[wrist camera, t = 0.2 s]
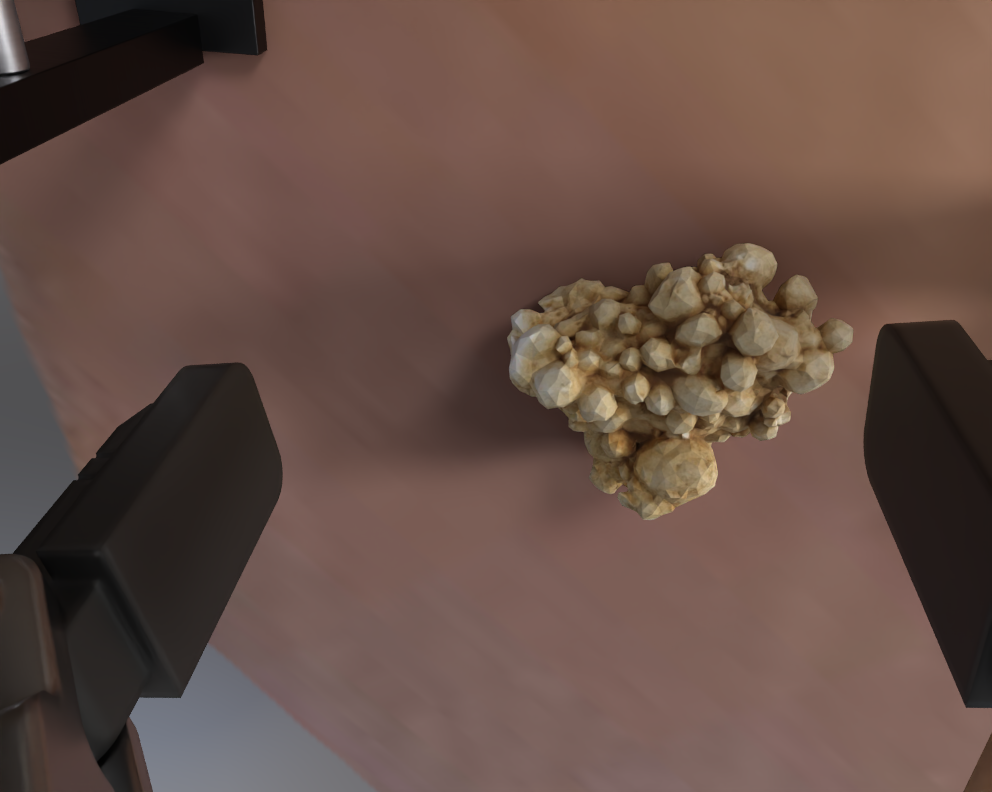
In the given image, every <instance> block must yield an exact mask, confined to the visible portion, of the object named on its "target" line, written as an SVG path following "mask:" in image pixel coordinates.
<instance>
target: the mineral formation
mask: <svg viewBox="0 0 992 792" xmlns="http://www.w3.org/2000/svg"><path fill="white" fill-rule="evenodd" d="M776 269H777V262H776V260H775V258H774V256H773V253H772V252H770V251H768V250H766V249H765V248H763V247H761V246H757V245H754V244H750V243H743V244H735V245H734V246H732V247H730V248H729V249H727V250H726V251H725V252H724V254H723V256H722V258H716V257H715V256H714V255H713V254H704V255H703V256H702V257H701V258H700V259H699V260H698V263H697V267H683V268H680V269H677V270H674V271H673V269H672V267H671V265H670V263H661V264H656V265H653V266H652V267H651V268H650V269H649V270H648V272H647V275H646V280H645V284H644V285H636V286H634V287H632V289H631V290H630V292H627V291H624V290H622V289H619V288H616V287H613V286H609V287H605V286H604V285H603V284H602V283H601V282H600V281H588V280H584V279H583V278H581V279H580V280H578V281H577V282H575V283H573V284H570V285H567V286H559V287H558V288H557V289H556V290H555V291H554V292H553V293H552V294H550V295H547V296H545V297H544V298H542V299H541V300H540V301H539V302H538V303H539V305H540V306H541V307H542V309H543V310H544V311H545V312H544V313H538V312H536V311H533V310H531V309H520V310H519V311H518V312H516V313H515V314H514V315H512V316H511V321H512V329H513V330H512V331H511V333H510V335H509V336H508V338H507V340H508V344H509V347H510V352H511V362H510V365H509V374H510V380H512V383H513V384H514V385H515V386H516V387H517V388H518V389H519V390H520V391H521V392H524V393H526V394H528V395H530V397H537V399H538V401H539V403H540V404H542V405H543V406H544V407H546V408H547V409H552V408H557V407H559V409H560V410H561V411H562V412H564V413H565V414H566V416H567V417H568V418H569V424H568V426H569V427H570V428H571V429H572V430H574V431H577V432H584V441H585V445H586V448H587V450H588V452H589V453H590V454H591V455H592V456H593V457H594V459H593V467H592V470H591V473H590V476H589V479H590V480H591V482H592V483H593V484H594V485H595V486H596V487H597V488H598V489H599V490H601V491H603V492H605V493H609V494H614V493H615V491H616V490H617V489H618V488H619V487H620V486H621V485H622V484H623V485H624V486H626V487H627V488H628V491H627V492H619V494H618V497H617V498H618V499H619V501H620V503H621V504H622V506H624V507H627V508H629V509H632V510H634V511H636V512H637V513H638V514H639V515H640V517H641V518H642V519H643V520H654V519H656V518H658V517H659V516H661V515H664V514H667V513H670V512H672V511H673V510H674V508H675V507H678V506H680V505H682V504H685V503H686V502H688V501H691V500H693V499H695V498H697V497H700V496H702V495H704V494H706V493H707V492H708V491H709V490H711V489H712V488H713V487H714V486H715V482H716V479H717V475H718V471H717V465H716V461H715V457H714V454H713V450H712V448H711V443H712V442H725V441H726V440H727V439H728V438H729V437H730V436H731V435H732V436H733V437H741V438H743V437H745V436H747V435H748V434H749V433H751V434H752V436H753V437H754V438H756V439H758V440H760V441H762V440H769V439H771V438H774V437H776V434H777V431H778V426H779V425H782V424H784V423H786V422H788V421H790V416H791V412H790V410H789V408H788V407H787V399H788V397H789V396H790V394H791V393H792V392H794V393H798V394H804V393H807V392H809V391H812V390H814V389H817V388H818V387H820V386H822V385H823V384H825V383H826V382H827V381H828V380H830V377H831V375H832V372H833V370H834V362H833V353H837V352H840V351H843V350H844V349H846V348H847V347H848V346H849V345H850V344H851V343H852V338H853V328H852V327H850V326H849V325H848V324H846V323H845V322H844V321H842V320H838V319H834V318H831V319H830V320H828V321H827V322H825V323H824V324H822V325H821V326H819V327H818V328H816V327H814V325H813V324H812V322H811V317H812V311H813V309H814V308H816V304H817V300H818V298H817V296H816V294H815V292H814V290H813V288H812V286H811V284H810V283H809V281H808V279H807V278H806V277H804V276H800V275H795V276H793V277H791V278H790V279H789V280H787V281H786V282H785V283H783V284H782V285H781V286H780V288H779V290H778V292H777V294H776V296H775V298H774V300H773V301H767V299H766V297H765V295H764V294H763V292H762V289H763V288H764V287H765V286H767V285H768V284H769V283H770V282H771V281H772V279H773V277H774V275H775V273H776Z"/></svg>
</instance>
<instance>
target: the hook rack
mask: <svg viewBox="0 0 992 792" xmlns="http://www.w3.org/2000/svg"><path fill="white" fill-rule="evenodd" d="M75 2H76V7H77V12H78V16H79V21H80V25H79V26H76V27H73V28H69V29H66V30H63V31H60V32H56V33H53V34H50V35H47V36H44V37H40V38H37V39H34V40H31V41H27V42H24V39H23V35H22V31H21V27H20V23H19V19H18V15H17V11H16V7H15V3H14V0H0V164H2V163H4V162H6V161H8V160H10V159H12V158H14V157H16V156H18V155H20V154H22V153H24V152H26V151H28V150H30V149H32V148H34V147H36V146H38V145H40V144H42V143H44V142H46V141H48V140H50V139H52V138H54V137H56V136H59V135H61V134H63V133H65V132H67V131H69V130H71V129H73V128H75V127H77V126H79V125H81V124H83V123H85V122H87V121H89V120H91V119H93V118H95V117H97V116H99V115H101V114H103V113H105V112H107V111H109V110H111V109H113V108H115V107H117V106H119V105H121V104H123V103H125V102H127V101H129V100H131V99H133V98H135V97H137V96H139V95H141V94H143V93H145V92H147V91H149V90H151V89H153V88H155V87H157V86H159V85H161V84H163V83H165V82H167V81H169V80H171V79H173V78H175V77H177V76H179V75H181V74H183V73H185V72H187V71H189V70H191V69H193V68H195V67H197V66H199V65H201V64H203V63H204V59H203V52H202V51H210V52H222V53H235V54H247V55H259V54H261V53H263V52H265V51H266V50H267V42H266V32H265V21H264V11H263V1H262V0H75Z"/></svg>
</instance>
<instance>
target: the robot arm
mask: <svg viewBox="0 0 992 792" xmlns="http://www.w3.org/2000/svg"><path fill="white" fill-rule="evenodd" d="M864 457H865V465H866V470H867V474H868V478H869V481H870V483H871V486H872V488H873V491H874V493H875V495H876V498H877V500H878V502H879V505H880V507H881V509H882V512H883V514H884V516H885V519H886V521H887V523H888V526H889V528H890V530H891V533H892V535H893V537H894V540H895V542H896V544H897V547H898V549H899V552H900V554H901V556H902V559H903V561H904V563H905V566H906V568H907V570H908V573H909V575H910V577H911V580H912V582H913V584H914V587H915V589H916V591H917V594H918V596H919V598H920V601H921V603H922V605H923V608H924V610H925V612H926V615H927V617H928V620H929V622H930V624H931V627H932V629H933V631H934V634H935V636H936V638H937V641H938V643H939V645H940V648H941V650H942V652H943V655H944V657H945V659H946V662H947V664H948V666H949V669H950V671H951V673H952V676H953V678H954V681H955V683H956V685H957V688H958V690H959V692H960V695H961V697H962V699H963V702H964V704H965V706H966V708H992V360H987V359H986V358H985V357H984V355H983V354H982V353H981V351H980V350H979V349H978V347H977V346H976V345H975V343H974V342H973V341H972V339H971V338H970V337H969V335H968V334H967V333H966V331H965V330H964V329H963V328H962V326H961V325H960V324H959V323H958V322H957V321H955V320H943V321H927V322H910V323H894V324H885V325H884V326H883V327H882V328H881V330H880V332H879V335H878V339H877V344H876V350H875V357H874V364H873V371H872V378H871V386H870V393H869V400H868V407H867V414H866V421H865V428H864ZM282 475H283V473H282V462H281V456H280V453H279V450H278V447H277V444H276V441H275V438H274V435H273V433H272V430H271V427H270V424H269V421H268V418H267V415H266V412H265V409H264V407H263V404H262V401H261V398H260V395H259V392H258V389H257V386H256V384H255V381H254V378H253V376H252V374H251V372H250V370H249V369H248V368H247V367H246V366H245V365H244V364H242V363H238V362H237V363H221V364H205V365H189V366H185V367H183V368H182V369H181V370H180V371H179V372H178V373H177V374H176V376H175V377H174V378H173V379H172V381H171V382H170V383H169V384H168V386H167V387H166V388H165V389H164V391H163V392H162V393H161V394H160V396H159V397H158V398H157V399H156V401H155V402H154V403H153V404H149V405H148V406H147V407H145V408H144V409H142V410H141V411H140V412H138V413H137V414H135V415H134V416H133V417H131V418H130V419H128V420H127V421H125V422H124V423H123V424H121V425H120V426H118V427H117V428H116V430H115V431H114V432H113V433H112V434H111V436H110V437H109V438H108V439H107V440H106V442H105V443H104V444H103V445H102V446H101V448H100V449H99V450H98V451H97V453H96V458H92V459H91V460H90V461H89V462H88V463H87V465H86V466H85V467H84V468H83V469H82V471H81V472H80V473H79V474H78V476H79V479H78V480H74V481H73V482H72V483H71V484H70V485H69V486H68V488H67V489H66V490H65V491H64V492H63V494H62V495H61V496H60V497H59V498H58V500H57V501H56V502H55V503H54V504H53V506H52V507H51V508H50V509H49V510H48V512H47V513H46V514H45V515H44V516H43V518H42V519H41V520H40V521H39V522H38V524H37V525H36V526H35V527H34V528H33V530H32V531H31V532H30V533H29V535H28V536H27V537H26V538H25V539H24V541H23V542H22V543H21V544H20V545H19V547H18V548H17V549H16V550H15V551H14V553H13V554H0V792H153V790H152V786H151V783H150V778H149V774H148V770H147V766H146V762H145V759H144V755H143V751H142V747H141V743H140V739H139V735H138V732H137V730H136V727H135V726H134V724H133V722H132V721H131V719H130V717H129V716H130V714H131V712H132V710H133V708H134V706H135V704H136V703H137V701H138V699H139V697H144V698H150V697H151V698H154V697H155V698H181V696H182V694H183V692H184V690H185V688H186V686H187V684H188V682H189V680H190V678H191V676H192V674H193V672H194V670H195V668H196V665H197V663H198V662H199V659H200V657H201V656H202V653H203V651H204V649H205V647H206V645H207V643H208V641H209V639H210V637H211V635H212V633H213V631H214V629H215V627H216V625H217V623H218V621H219V619H220V617H221V615H222V613H223V611H224V609H225V607H226V605H227V603H228V601H229V599H230V597H231V594H232V592H233V590H234V588H235V586H236V584H237V582H238V580H239V578H240V576H241V574H242V572H243V570H244V568H245V566H246V564H247V562H248V560H249V558H250V556H251V554H252V552H253V550H254V548H255V546H256V544H257V542H258V540H259V538H260V535H261V533H262V531H263V529H264V527H265V525H266V523H267V521H268V519H269V517H270V515H271V513H272V511H273V509H274V507H275V505H276V503H277V501H278V498H279V496H280V492H281V487H282ZM964 792H992V733H991V735H990V738H989V740H988V742H987V744H986V746H985V748H984V750H983V752H982V754H981V756H980V758H979V760H978V762H977V765H976V767H975V769H974V771H973V773H972V775H971V777H970V779H969V781H968V783H967V785H966V787H965V790H964Z"/></svg>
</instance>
